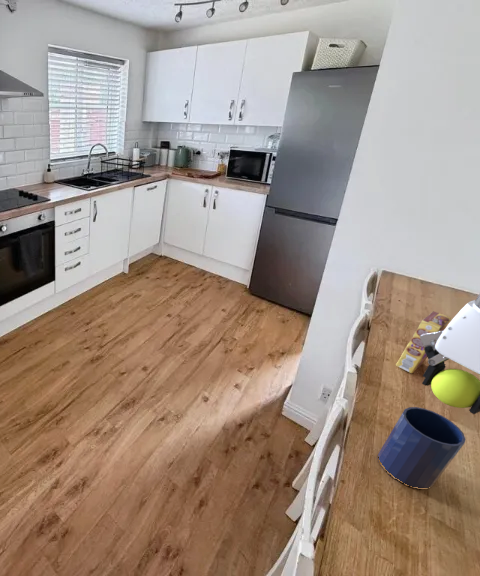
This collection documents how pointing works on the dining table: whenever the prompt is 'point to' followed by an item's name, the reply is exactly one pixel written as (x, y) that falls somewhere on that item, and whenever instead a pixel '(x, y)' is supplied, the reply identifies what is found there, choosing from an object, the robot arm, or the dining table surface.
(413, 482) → the blue round container
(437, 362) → the robot arm
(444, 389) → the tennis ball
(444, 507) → the dining table surface
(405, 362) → the candy box
